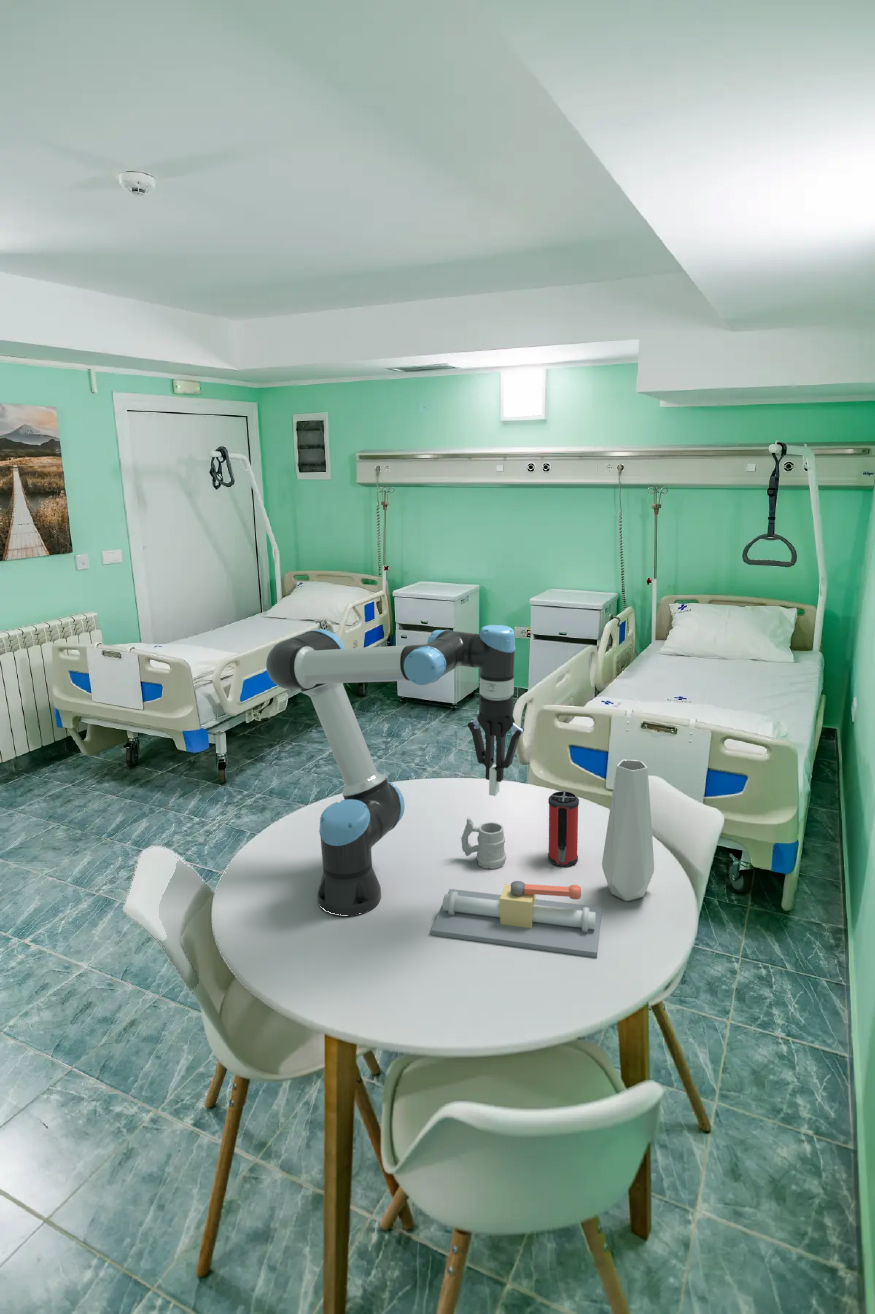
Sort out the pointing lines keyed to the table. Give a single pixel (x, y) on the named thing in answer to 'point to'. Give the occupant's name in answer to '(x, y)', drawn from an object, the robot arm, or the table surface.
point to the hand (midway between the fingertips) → (494, 793)
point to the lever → (545, 890)
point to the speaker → (563, 828)
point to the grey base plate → (519, 921)
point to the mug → (486, 844)
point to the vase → (629, 833)
